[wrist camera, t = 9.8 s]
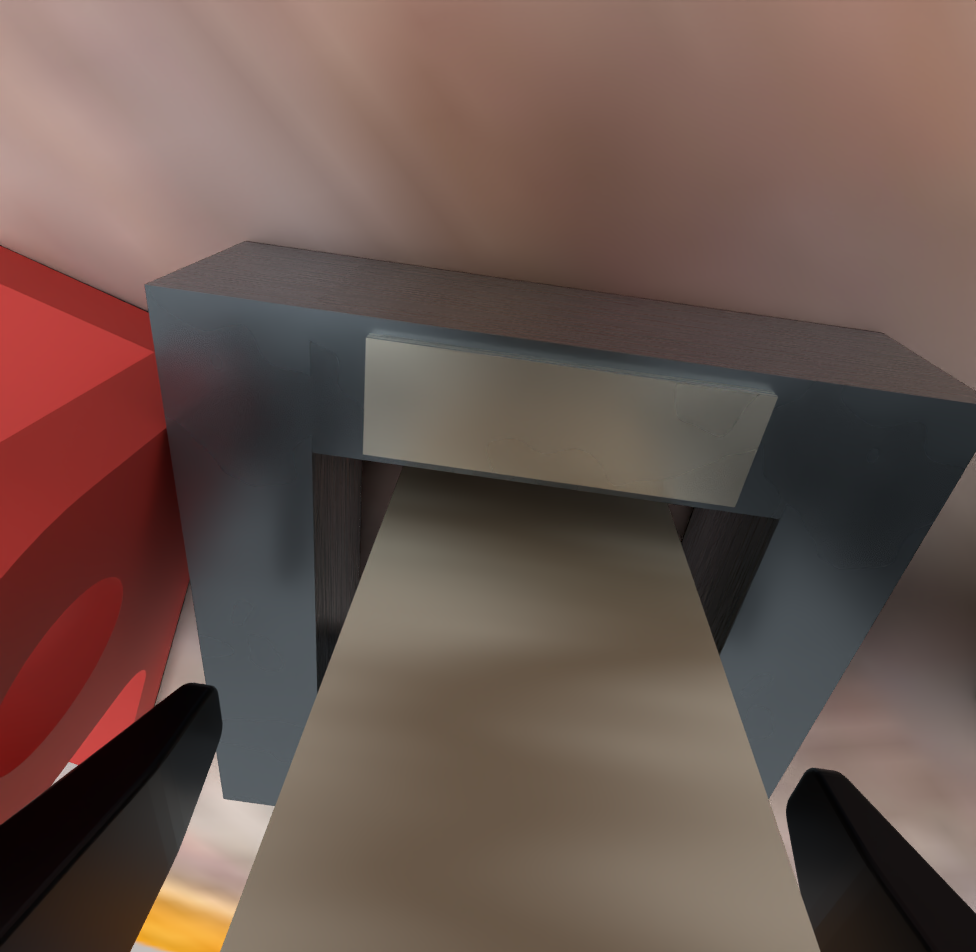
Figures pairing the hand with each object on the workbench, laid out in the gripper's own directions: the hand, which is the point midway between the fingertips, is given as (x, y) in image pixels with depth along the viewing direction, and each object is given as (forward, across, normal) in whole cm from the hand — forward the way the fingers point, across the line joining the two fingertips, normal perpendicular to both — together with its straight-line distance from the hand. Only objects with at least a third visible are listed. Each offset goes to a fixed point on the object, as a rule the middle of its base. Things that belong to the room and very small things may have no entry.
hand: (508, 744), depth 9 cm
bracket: (+5, +9, +2) cm, 11 cm away
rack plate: (+5, 0, 0) cm, 5 cm away
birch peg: (+5, 0, 0) cm, 5 cm away
